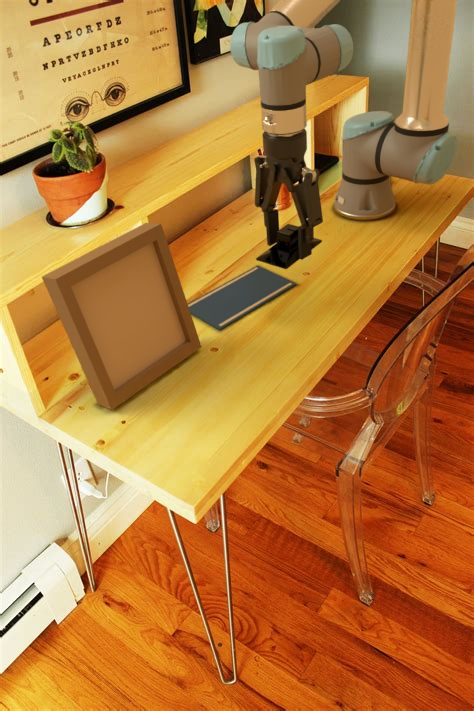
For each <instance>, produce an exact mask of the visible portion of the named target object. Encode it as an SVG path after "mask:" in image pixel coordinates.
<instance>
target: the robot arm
mask: <svg viewBox="0 0 474 711" xmlns="http://www.w3.org/2000/svg"><path fill="white" fill-rule="evenodd" d="M339 2H341V0H279V2H277V3H276V5H274V6H273V7H272V9H270V10H269V11H268V12H267V13H266V14H264V16H262V18H260V19H259V20H258V21H257V22H254V21H249V22H242V23H239V24H238V25H237V26H236V27H235V28H234V30H233V32H232V34H231V37H230V42H229V44H230V45H229V47H230V48H229V50H230V53H231V56H232V59H233V61H234V62H235V63H236V64H237V66H239V67H242V68H246V69H251V70H253V71H258V82H259V95H260V96H259V97H260V114H261V127H262V130H263V132H262V136H261V137H262V150H263V151H262V152H263V153H262V154H260V155H258V156H255V157H254V159H253V162H254V166H255V187H254V206H255V207H256V208H260V209H261V212H262V213H263V224H264V227H265V229H266V244H267V246H269V247H272V246H274V245H275V244H276V243H277V238H276V237H277V231H278V230H280V217H279V214H280V213H279V210H278V209H276V208H277V207H278V205H277V201H278V200H279V199H278V198H279V195H280V191H281V188H282V185H285V186H286V189H287V191H288V193H290V194H291V197H292V200H293V204H294V206H295V210H296V214H297V216H298V220H299V222H300V225H298V245H299V260H301V261H302V260H304V259H306V258H308V257H309V256H311V255H313V252H312V250H313V249H312V243H311V242H312V241H313V240H314V238H315V236H314V235H315V232H314V230H315V229H314V228H316V227H317V226H320V224H322V223H323V222H324V217H323V210H322V203H321V195H320V194H321V193H320V186H319V180H320V170H319V169H318V168H314V169H311V168H309V167H307V163H306V161H305V155H306V153H307V151H308V131H307V130H306V128H307V126H308V122H307V86H308V85H311V84H313V83H315V82H317V81H318V82H319V81H320V80H323V79H325V78H327V77H332V76H334V75H336V74H338V73H339V72H340V71H342V70H344V69H346V68H347V66H348V65H349V64H350V63H351V61H352V60H353V59H352V58H353V56H354V41H353V38H352V36H351V33H350V32H349V31H348V29H346V27H344V25H341V24H337V23H334V24H325V25H323V26H321V27H317V28H315V27H316V26H317V25H318V24H319V23H320V22H321V21H322V19H324V18H325V17H326V16H327V14H329V13H330V12H331V11H332V10H333V9H334V8H335V6H337V5H338V4H339ZM457 5H458V0H411V9H410V19H409V20H410V22H409V32H408V45H407V56H406V68H405V81H404V89H403V90H404V93H403V102H402V103H403V104H402V112H401V113H400V114H399V115H398V117H396V118H395V117H394V113H392V112H390V111H386V110H375V111H367V112H362V113H358V114H355V115H353V116H350V117H349V118H348V119H346V120H345V122H344V124H343V127H342V136H341V141H342V142H341V143H342V146H341V149H342V150H341V154H342V155H341V157H342V158H341V180H340V184H339V186H338V188H337V192H336V195H335V198H334V204H333V205H334V206H333V207H334V211H335V213H336V214H337V215H339V216H341V217H343V218H345V219H348V220H351V221H352V220H353V221H375V220H379V219H383V218H386V217H388V216H390V215H392V213H394V211H395V209H396V197H395V194H394V190H393V186H392V182H391V177H392V178H393V177H394V178H396V179H397V178H398V179H400V180H405V181H408V182H412V183H414V184H422V185H434V184H436V183H438V182H439V181H440V180H441V179H442V178H444V176H445V175H446V174H447V172H448V170H449V169H450V167H451V165H452V163H453V161H454V159H455V156H456V152H457V148H458V139H457V135H456V134H455V133H453V132H452V131H449V129H450V127H449V126H450V118H449V117H448V116H447V115H446V114H445V113H444V110H445V103H446V102H445V100H446V95H447V87H448V86H447V85H448V76H449V69H450V61H451V54H452V45H453V36H454V30H455V21H456V20H455V19H456V13H457V12H456V11H457Z"/></svg>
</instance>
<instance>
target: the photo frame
mask: <svg viewBox="0 0 474 711" xmlns="http://www.w3.org/2000/svg"><path fill="white" fill-rule="evenodd" d="M167 240H168V239H167V237H166V234H165V231H164V229H163V226H162V223H157V222H145V223H143V224H141V225H139V226H137V227H134V228H133V229H131V230H129V231H127V232H125V233H123V234H122V235H120V236H118V237H116V238H114V239H112V240H110V241H108V242H106V243H104V244H102V245H100V246H99V247H97V248H94V249H93V250H90V251H88V252H86V253H85V254H83V255H81V256H79V257H77V258H75V259H73V260H71V261H70V262H67V263H65V264H63V265H62V266H60V267H58V268H56V269H54V270H52V271H50V272H48V273H46V274H44V275H42V276H41V279H42V281H43V283H44V285H45V288H46V290H47V292H48V295H49V297H50V299H51V302H52V304H53V306H54V308H55V311H56V313H57V315H58V317H59V320H60V322H61V324H62V327H63V328H64V329H63V330H64V331H65V333H66V335H67V338H68V340H69V343H70V345H71V346H72V349H73V351H74V353H75V355H76V358H77V360H78V363H79V364H80V367H81V369H82V371H83V374H84V376H85V378H86V380H87V383H88V386H89V387H90V390H91V392H92V394H93V396H94V398H95V400H96V403H97V405H99V406H101V407H103V408H105V409H108V410H110V411H113V410H114V409H116V408H117V407H118V406H120V405H121V404H123V403H124V402H126V401H127V400H128V399H130V398H131V397H133V396H134V395H135V394H137V393H138V392H139V391H141V390H143V389H144V388H145V387H147V386H148V385H149V384H151V383H152V382H154V381H155V380H157V379H159V378H160V377H161V376H162V375H163V374H165V373H166V372H168V371H170V370H171V369H172V368H174V367H175V366H176V365H178V364H179V363H181V362H182V361H184V360H185V359H187V358H188V357H189V356H191V355H192V354H193V353H196V351H198V350H199V349H201V348H202V344H201V341H200V337H199V335H198V332H197V328H196V326H195V322H194V319H193V315H192V314H191V313H190V310H189V307H188V304H189V303H188V301H187V298H186V295H185V292H184V288H183V286H182V283H181V280H180V277H179V274H178V271H177V268H176V265H175V262H174V259H173V256H172V253H171V250H170V247H169V242H168V241H167Z"/></svg>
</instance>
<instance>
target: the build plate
mask: <svg viewBox="0 0 474 711" xmlns="http://www.w3.org/2000/svg"><path fill="white" fill-rule="evenodd" d="M298 227H299V225H295V224H292V223H287V224H286V225H284V226H282V227H281V228H279V230H278V231H277V237H276V238H277V243H275V244H273V245H271V246H270V248H268V249H267V250H265V251H264V252H263V253H261V254H259V255H258V256H257V257H255V260H256V261H258V262H261V263H263V264H268V265H270V266H274V267H277V268H279V269H282V270H283V269H284V270H288V269H289V268H290V267H291V266H293V265H294V264H296V263H297V262H298V261H300V259H299V245H298ZM322 242H323V240H322V239H320V238H316V237H314V240H313V241H312V242H311V243H312V250H313V249H315V248H316V247H317V246H319V245H320V244H321V243H322Z"/></svg>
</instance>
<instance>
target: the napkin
mask: <svg viewBox="0 0 474 711" xmlns="http://www.w3.org/2000/svg"><path fill="white" fill-rule="evenodd" d="M295 286H297V282H294V281H293V280H290V279H288V278H286V277H283V276H281V275H279V274H277V273H275V272H273V271H271V270H268V269H267V268H265V267H262V266H260V265H256V266H254V267H252V268H250V269H248V270H247V271H245V272H243V273H241V274H239V275H238V276H235V277H234V278H232V279H230V280H229V281H227V282H225V283H223V284H221V285H220V286H217V287H216V288H214V289H212V290H211V291H208V292H207V293H205V294H203V295H200V297H197V298H196V299H194V300H193V301H190V302H189V303H187V304H188V307H189V310H190V313H191V316H194V317H195V318H197V319H199V320H201V321H202V322H204V323H206V324H207V325H209V326H211V327H213V328H214V329H216V330H218V331H222V330H224V329H225V328H226V327H229V326H230V325H232V324H234V323H235V322H237V321H238V320H240V319H242V318H243V317H245V316H246V315H249V314H250V313H251V312H253V311H255V310H256V309H258V308H260V307H261V306H263V305H265V304H267V303H269V302H270V301H272V300H273V299H275V298H277V297H278V296H280V295H282V294H284V293H285V292H287V291H289V290H291V289H292V288H293V287H295Z"/></svg>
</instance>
